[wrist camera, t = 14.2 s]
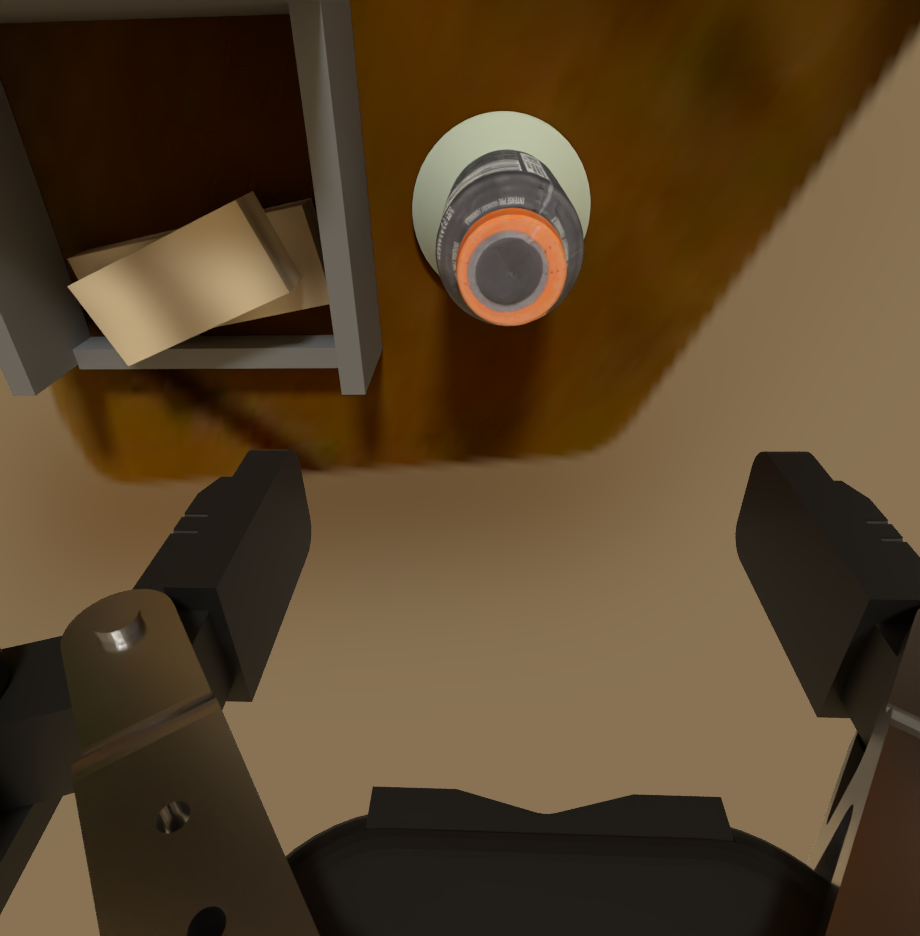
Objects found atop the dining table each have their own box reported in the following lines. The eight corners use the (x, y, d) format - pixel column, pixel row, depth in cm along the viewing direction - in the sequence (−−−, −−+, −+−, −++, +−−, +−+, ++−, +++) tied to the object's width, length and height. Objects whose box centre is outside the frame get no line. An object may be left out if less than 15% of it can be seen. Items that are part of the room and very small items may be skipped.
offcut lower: (313, 196, 33) (301, 204, 31) (342, 289, 36) (333, 303, 34) (92, 247, 35) (66, 258, 33) (135, 332, 38) (114, 347, 36)
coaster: (597, 108, 30) (598, 109, 29) (581, 296, 35) (582, 299, 34) (407, 113, 30) (406, 114, 30) (418, 298, 35) (417, 301, 35)
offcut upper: (252, 190, 31) (235, 199, 29) (302, 278, 33) (289, 292, 31) (94, 272, 33) (67, 286, 31) (149, 348, 35) (128, 366, 33)
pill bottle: (553, 277, 34) (578, 361, 24) (442, 267, 34) (424, 347, 24) (573, 152, 30) (610, 193, 21) (450, 142, 30) (432, 177, 21)
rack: (347, -22, 28) (265, -70, 18) (382, 353, 37) (342, 462, 27) (-57, -8, 29) (-356, -47, 18) (78, 355, 38) (-71, 462, 28)
